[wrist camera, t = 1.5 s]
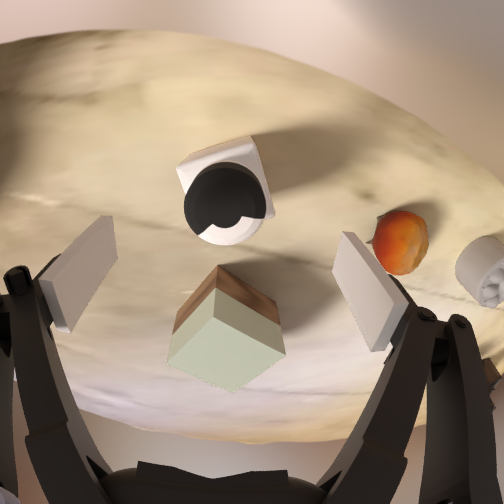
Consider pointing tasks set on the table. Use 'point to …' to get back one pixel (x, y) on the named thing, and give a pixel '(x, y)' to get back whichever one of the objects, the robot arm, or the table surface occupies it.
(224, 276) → the walnut slab
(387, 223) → the fruit
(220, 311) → the sage slab
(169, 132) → the table surface
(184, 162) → the medicine bottle
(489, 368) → the coffee grinder
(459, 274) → the lumpy-topped squat cylinder
